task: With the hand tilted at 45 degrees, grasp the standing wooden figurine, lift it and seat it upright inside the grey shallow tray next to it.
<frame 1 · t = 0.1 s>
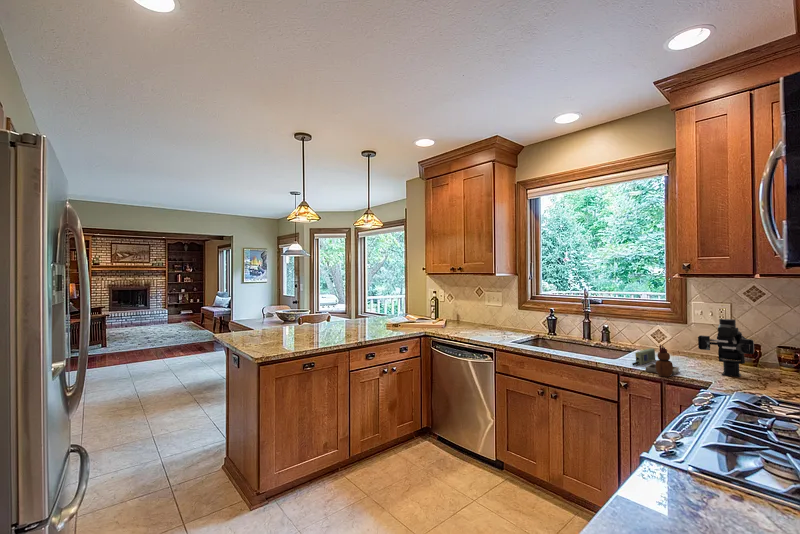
hand: (722, 347, 164), 17 cm above the countertop, tool horizontal, fingers open, 9 cm apart
grey shallow tray: (662, 371, 190), on the countertop
handheld radio: (643, 363, 209), on the countertop
wooden figurine: (664, 376, 181), on the countertop
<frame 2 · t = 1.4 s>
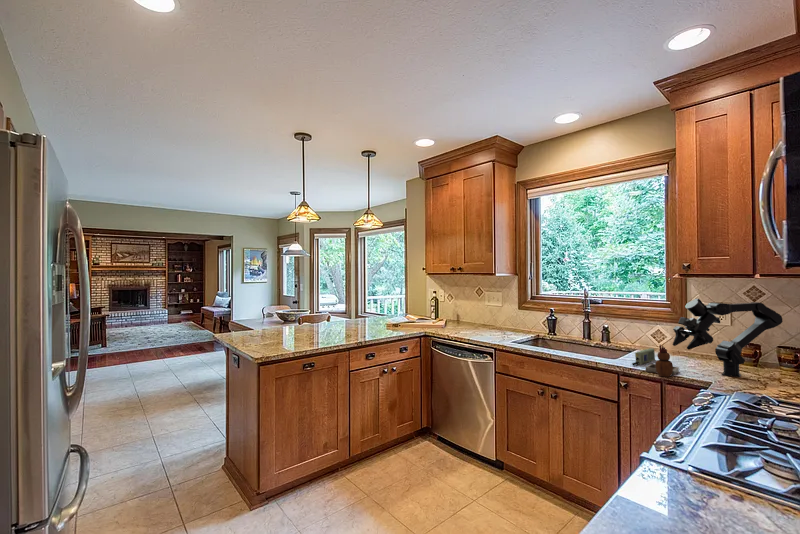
hand: (680, 347, 181), 14 cm above the countertop, tool tilted 45°, fingers open, 9 cm apart
nothing on the countertop moved.
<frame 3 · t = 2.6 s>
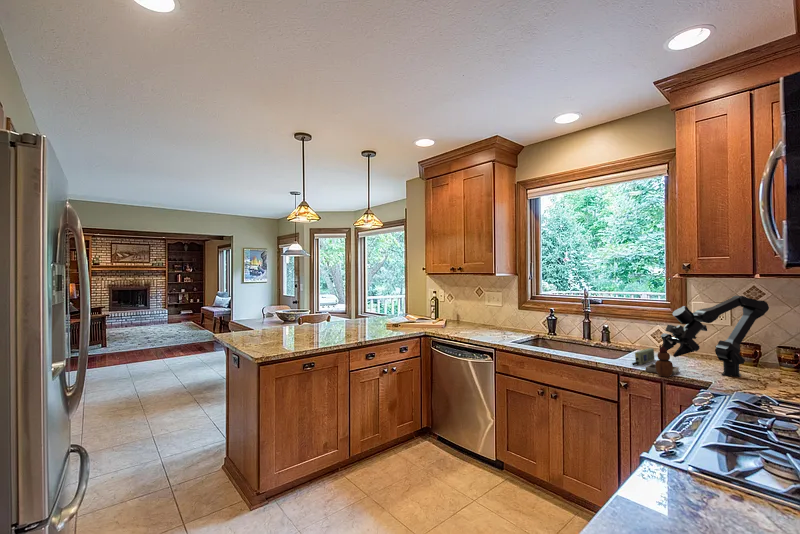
hand: (667, 354, 181), 10 cm above the countertop, tool tilted 45°, fingers open, 9 cm apart
nothing on the countertop moved.
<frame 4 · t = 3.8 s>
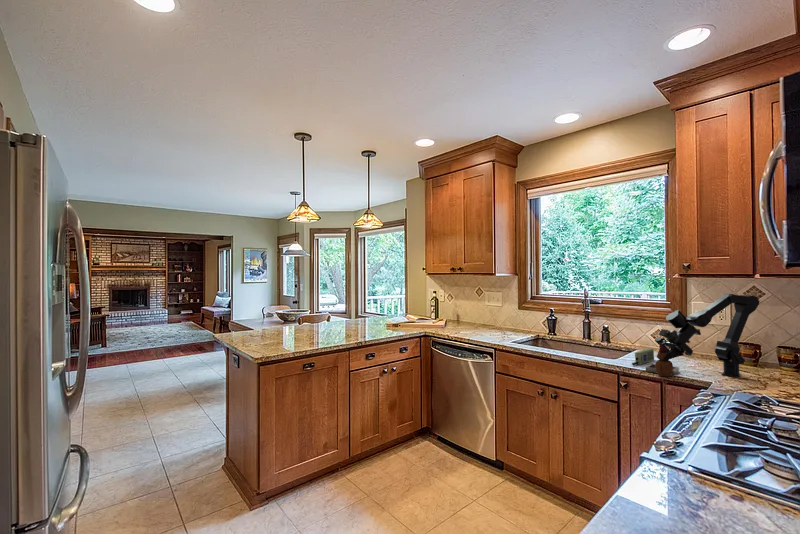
hand: (660, 358, 181), 8 cm above the countertop, tool tilted 45°, fingers closed on wooden figurine, 5 cm apart
wooden figurine: (664, 376, 181), on the countertop, touching gripper
everything else where it was.
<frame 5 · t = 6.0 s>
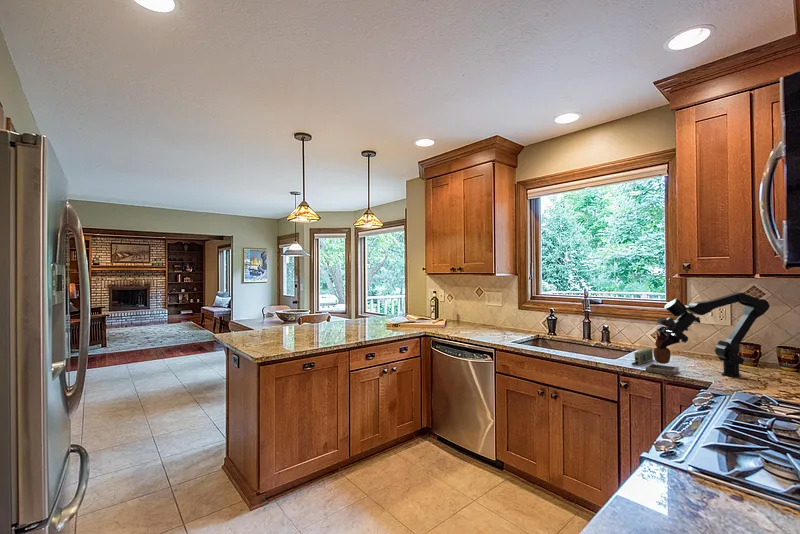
hand: (658, 346, 186), 13 cm above the countertop, tool tilted 45°, fingers closed on wooden figurine, 5 cm apart
wooden figurine: (662, 363, 186), point 5 cm above the countertop, touching gripper
everything else where it was.
when the fingers open (9 cm above the countertop, at t = 7.9 s): wooden figurine drops 1 cm, resting in grey shallow tray.
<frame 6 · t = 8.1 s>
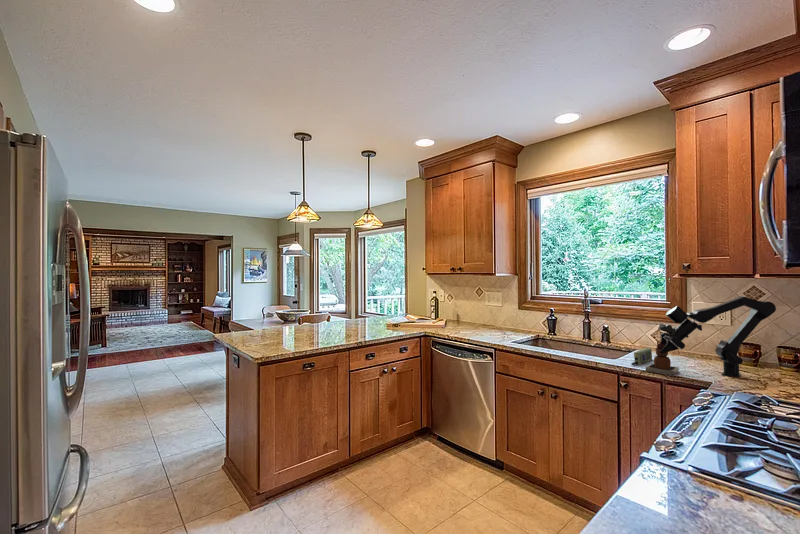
hand: (658, 351, 191), 10 cm above the countertop, tool tilted 45°, fingers open, 7 cm apart
wooden figurine: (662, 371, 190), resting in grey shallow tray
everything else where it was.
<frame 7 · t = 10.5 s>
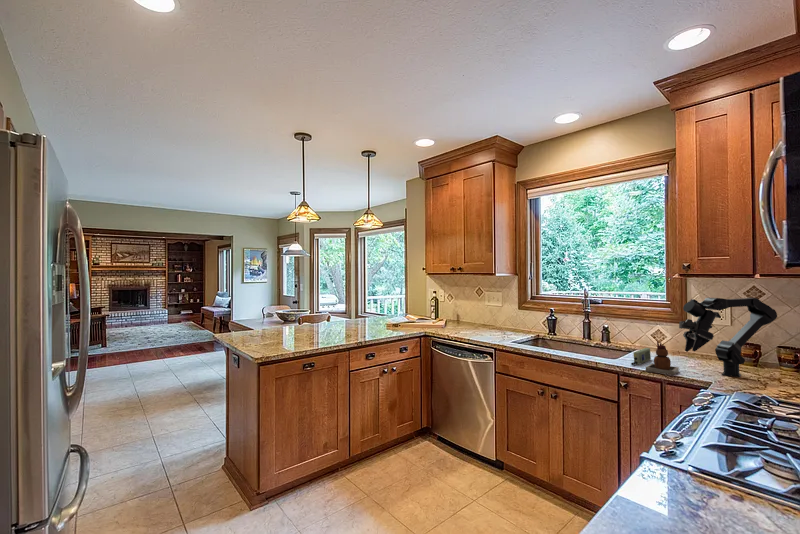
hand: (689, 351, 181), 12 cm above the countertop, tool tilted 30°, fingers open, 9 cm apart
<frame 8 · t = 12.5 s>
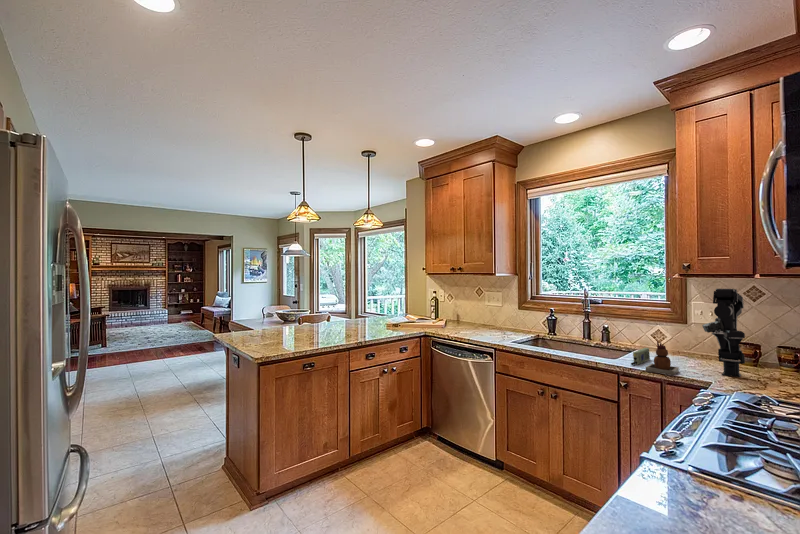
hand: (727, 351, 173), 13 cm above the countertop, tool pointing down, fingers open, 9 cm apart
at the end: wooden figurine 0.2 cm off-centre on the grey shallow tray, point 0.0 cm above the grey shallow tray's base; wooden figurine tilted 0°; the gripper is holding nothing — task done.
